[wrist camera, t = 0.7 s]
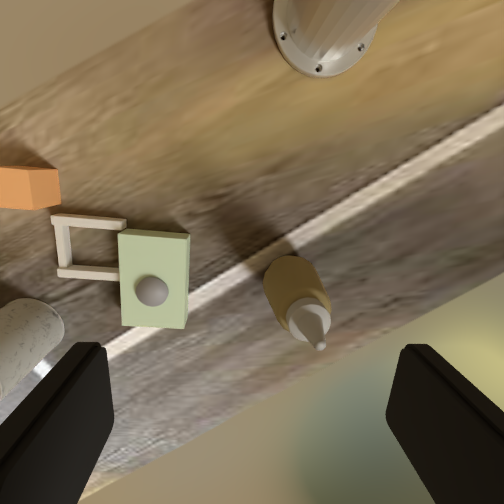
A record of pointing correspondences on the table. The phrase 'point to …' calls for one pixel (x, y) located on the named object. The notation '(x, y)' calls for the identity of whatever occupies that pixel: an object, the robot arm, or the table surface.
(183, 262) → the green plate with dome
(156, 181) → the table surface
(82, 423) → the robot arm
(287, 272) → the squeeze bottle
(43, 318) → the speckled stone cylinder
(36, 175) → the matte orange cube
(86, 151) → the table surface
